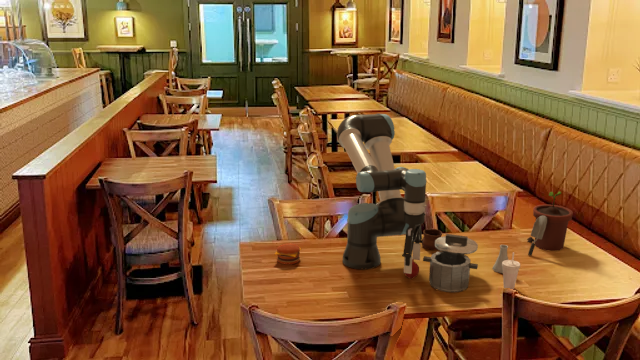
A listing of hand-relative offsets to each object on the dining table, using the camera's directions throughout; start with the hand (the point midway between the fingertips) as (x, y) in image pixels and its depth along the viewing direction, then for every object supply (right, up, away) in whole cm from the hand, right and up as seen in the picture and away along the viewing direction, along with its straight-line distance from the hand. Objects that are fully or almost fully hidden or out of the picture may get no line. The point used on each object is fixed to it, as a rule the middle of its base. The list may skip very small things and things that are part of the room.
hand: (412, 266), depth 232 cm
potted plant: (+61, +4, +33) cm, 69 cm away
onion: (0, -5, +2) cm, 6 cm away
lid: (+18, +7, +6) cm, 20 cm away
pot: (+13, -6, -2) cm, 15 cm away
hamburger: (-47, 0, +19) cm, 51 cm away
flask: (+36, -3, +10) cm, 38 cm away
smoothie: (+35, -7, -5) cm, 36 cm away
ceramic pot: (+13, +3, +33) cm, 36 cm away
